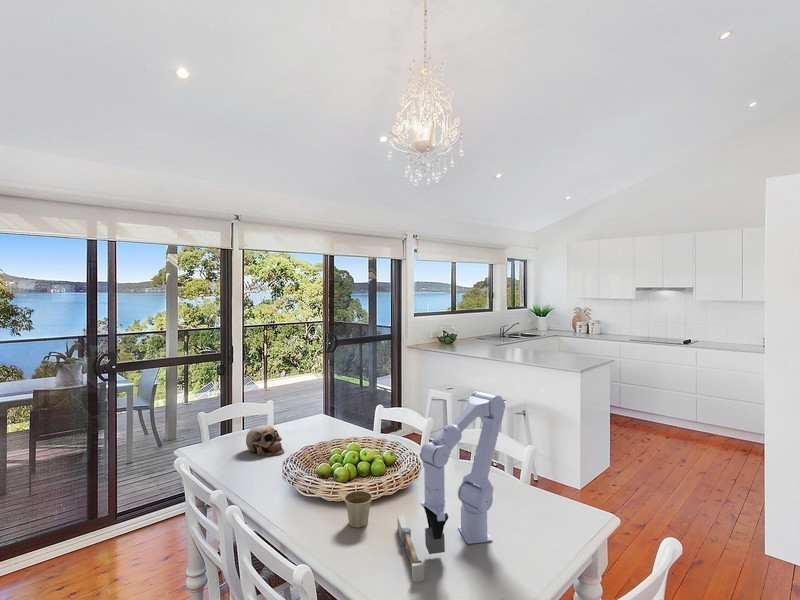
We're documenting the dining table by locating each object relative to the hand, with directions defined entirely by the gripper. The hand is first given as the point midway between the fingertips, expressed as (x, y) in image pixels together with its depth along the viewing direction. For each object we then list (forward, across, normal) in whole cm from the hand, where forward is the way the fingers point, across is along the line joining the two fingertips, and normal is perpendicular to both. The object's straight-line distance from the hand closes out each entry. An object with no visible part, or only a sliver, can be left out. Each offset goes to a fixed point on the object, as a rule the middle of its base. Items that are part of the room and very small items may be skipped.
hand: (435, 533), depth 123 cm
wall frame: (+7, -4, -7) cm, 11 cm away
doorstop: (+4, 0, 0) cm, 4 cm away
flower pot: (+7, -23, -20) cm, 31 cm away
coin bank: (+7, -97, -59) cm, 114 cm away
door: (+7, +1, -7) cm, 9 cm away
